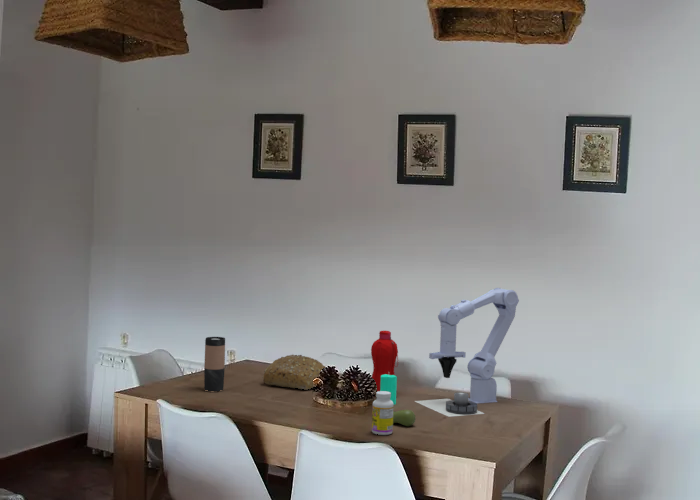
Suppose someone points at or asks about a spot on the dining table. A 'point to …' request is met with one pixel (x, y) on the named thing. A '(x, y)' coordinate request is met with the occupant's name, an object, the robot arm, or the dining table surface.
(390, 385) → the candle
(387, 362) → the water bottle
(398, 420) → the pear
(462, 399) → the cap
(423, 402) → the mat
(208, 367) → the travel mug
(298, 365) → the bread
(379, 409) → the supplement bottle
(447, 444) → the dining table surface
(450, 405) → the toothed grey gear
